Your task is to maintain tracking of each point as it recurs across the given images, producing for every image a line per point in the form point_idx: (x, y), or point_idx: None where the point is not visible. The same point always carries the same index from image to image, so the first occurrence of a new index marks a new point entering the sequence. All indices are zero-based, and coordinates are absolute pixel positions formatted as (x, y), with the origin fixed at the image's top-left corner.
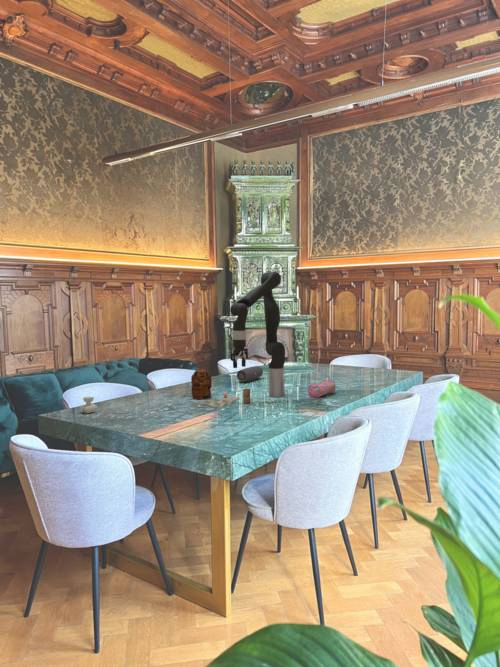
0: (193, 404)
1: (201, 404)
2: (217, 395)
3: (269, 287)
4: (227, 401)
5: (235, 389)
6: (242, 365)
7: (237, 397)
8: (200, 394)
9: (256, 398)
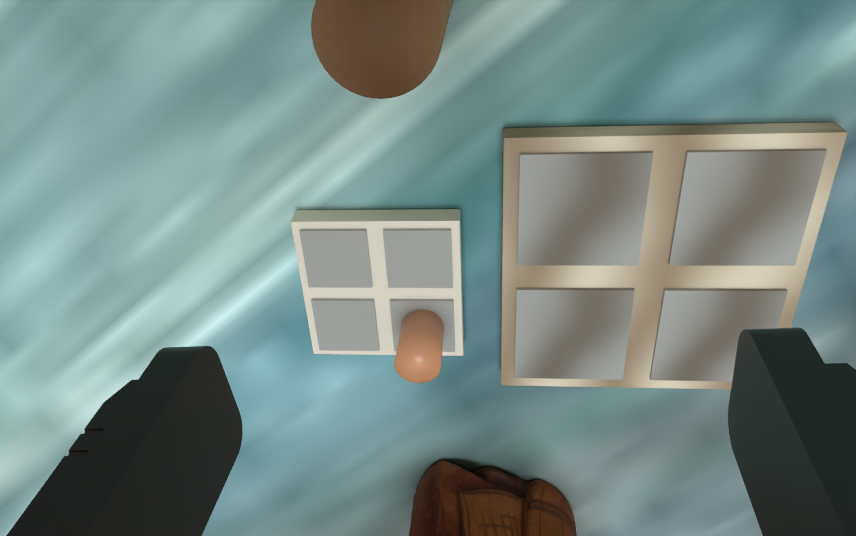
0: None
1: None
2: (320, 471)
3: None
4: (579, 187)
5: (27, 486)
6: (225, 437)
7: (322, 229)
8: (558, 528)
9: (114, 66)
